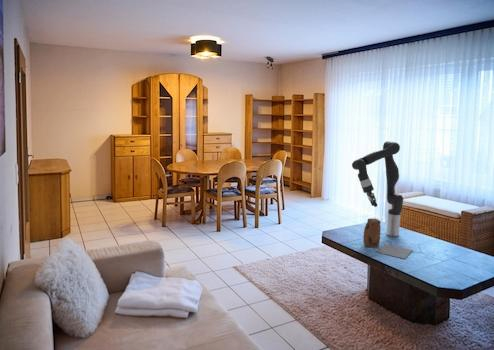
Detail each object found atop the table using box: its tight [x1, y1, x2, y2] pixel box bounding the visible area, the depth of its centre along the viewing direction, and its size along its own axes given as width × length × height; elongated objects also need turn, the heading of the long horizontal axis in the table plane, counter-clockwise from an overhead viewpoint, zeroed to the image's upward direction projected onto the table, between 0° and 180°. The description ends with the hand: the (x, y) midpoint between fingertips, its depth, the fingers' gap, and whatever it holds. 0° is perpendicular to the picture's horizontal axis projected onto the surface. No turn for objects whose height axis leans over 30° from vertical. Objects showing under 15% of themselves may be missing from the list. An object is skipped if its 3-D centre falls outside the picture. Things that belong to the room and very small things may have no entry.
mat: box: [374, 243, 414, 260], centre depth 285 cm, size 20×20×1 cm
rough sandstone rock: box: [363, 218, 382, 248], centre depth 294 cm, size 11×8×20 cm
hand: (374, 206), depth 297 cm, fingers open, 8 cm apart
